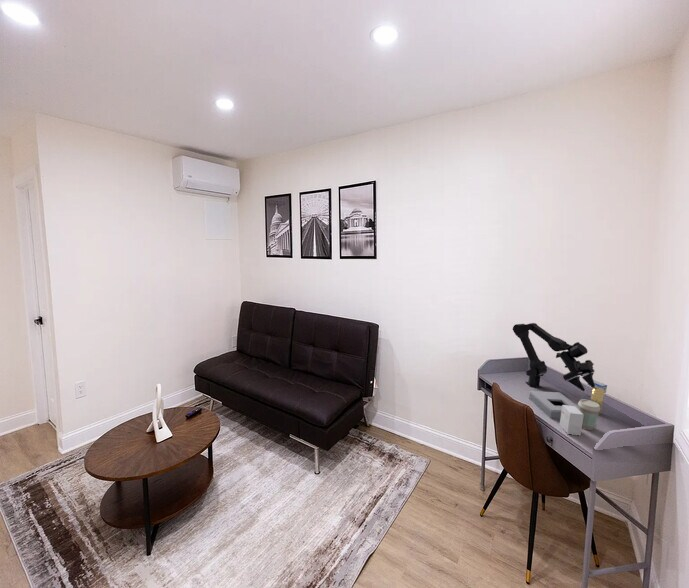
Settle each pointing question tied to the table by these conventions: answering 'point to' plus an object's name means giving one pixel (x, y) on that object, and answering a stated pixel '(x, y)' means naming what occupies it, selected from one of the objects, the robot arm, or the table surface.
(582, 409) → the coffee cup
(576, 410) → the small box
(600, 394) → the brass cylinder
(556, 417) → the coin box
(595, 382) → the medicine box
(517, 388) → the table surface
